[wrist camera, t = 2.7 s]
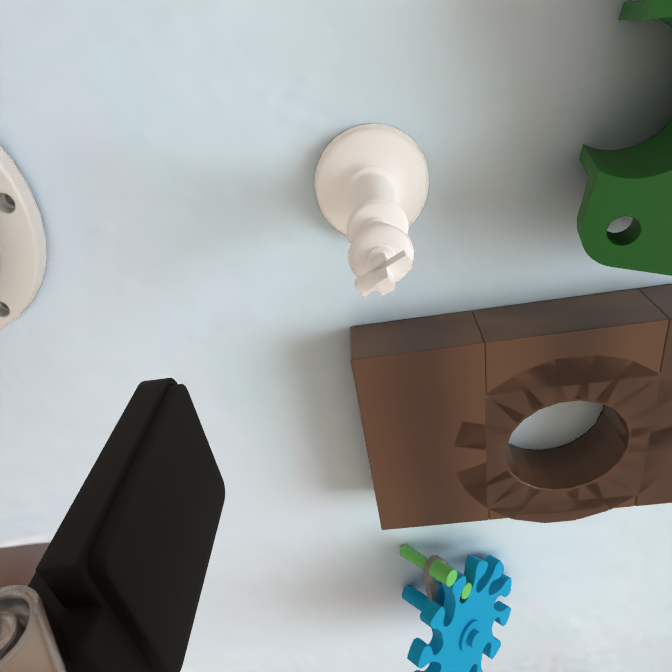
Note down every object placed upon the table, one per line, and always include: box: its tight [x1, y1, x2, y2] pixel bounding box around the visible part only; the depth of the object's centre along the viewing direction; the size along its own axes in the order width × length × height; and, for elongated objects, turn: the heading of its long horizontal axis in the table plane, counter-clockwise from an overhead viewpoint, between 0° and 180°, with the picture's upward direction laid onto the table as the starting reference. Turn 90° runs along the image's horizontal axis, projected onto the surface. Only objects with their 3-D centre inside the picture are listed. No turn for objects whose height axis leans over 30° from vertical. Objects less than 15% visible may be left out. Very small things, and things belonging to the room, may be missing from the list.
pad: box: [350, 284, 672, 530], centre depth 28 cm, size 16×13×3 cm
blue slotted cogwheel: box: [400, 545, 511, 672], centre depth 36 cm, size 11×6×10 cm
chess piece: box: [315, 124, 429, 297], centre depth 19 cm, size 5×5×10 cm
